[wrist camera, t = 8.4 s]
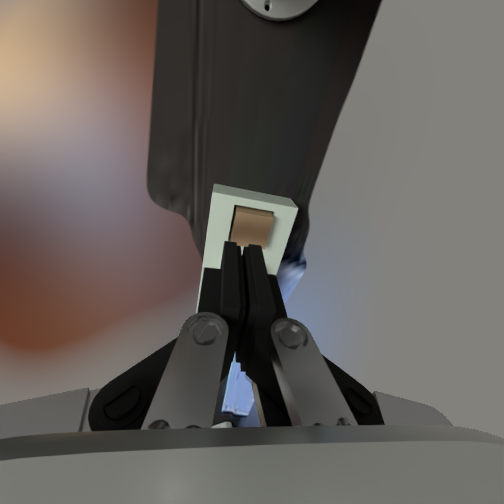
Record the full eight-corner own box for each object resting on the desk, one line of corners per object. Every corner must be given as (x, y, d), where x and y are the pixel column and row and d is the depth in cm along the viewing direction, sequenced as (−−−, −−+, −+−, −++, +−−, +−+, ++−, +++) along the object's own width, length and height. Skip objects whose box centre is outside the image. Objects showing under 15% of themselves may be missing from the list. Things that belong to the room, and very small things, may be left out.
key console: (214, 183, 33) (212, 192, 29) (290, 198, 36) (298, 208, 32) (197, 304, 45) (194, 321, 41) (256, 309, 47) (258, 326, 43)
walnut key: (236, 202, 33) (237, 211, 30) (269, 208, 34) (273, 217, 31) (230, 232, 35) (230, 244, 32) (261, 237, 36) (264, 249, 33)
